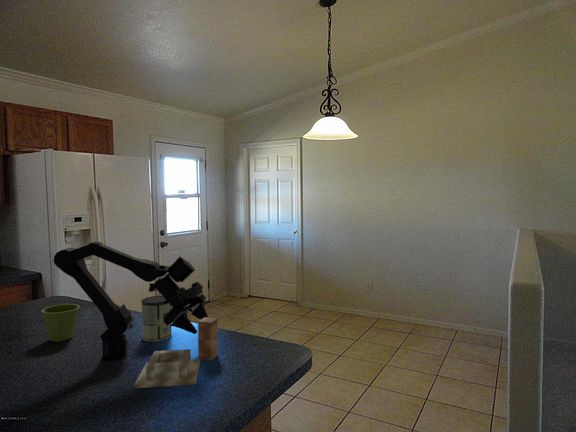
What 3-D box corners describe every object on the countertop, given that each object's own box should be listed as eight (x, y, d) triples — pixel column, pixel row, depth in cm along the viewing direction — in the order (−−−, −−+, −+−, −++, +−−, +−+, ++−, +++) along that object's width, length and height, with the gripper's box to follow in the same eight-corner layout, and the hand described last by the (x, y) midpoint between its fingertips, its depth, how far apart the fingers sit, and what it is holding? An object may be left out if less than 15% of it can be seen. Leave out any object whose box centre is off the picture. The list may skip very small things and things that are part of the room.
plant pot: (50, 347, 128) (49, 314, 128) (36, 339, 135) (35, 309, 135) (86, 337, 138) (85, 307, 137) (71, 330, 145) (70, 302, 144)
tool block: (134, 388, 100) (134, 369, 100) (146, 365, 114) (146, 349, 114) (195, 384, 102) (195, 366, 102) (200, 362, 116) (200, 346, 116)
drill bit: (136, 327, 150) (118, 314, 144) (125, 331, 151) (107, 319, 145) (139, 316, 154) (121, 303, 148) (128, 320, 156) (111, 308, 149)
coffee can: (150, 331, 144) (149, 295, 143) (176, 332, 143) (175, 295, 142) (136, 341, 134) (135, 302, 133) (164, 342, 133) (163, 303, 132)
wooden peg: (198, 359, 119) (198, 321, 118) (204, 353, 123) (204, 317, 122) (211, 360, 117) (211, 322, 117) (217, 354, 122) (217, 318, 121)
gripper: (171, 281, 112) (205, 320, 110) (200, 270, 130) (230, 303, 128) (148, 306, 114) (182, 345, 112) (180, 291, 132) (209, 325, 130)
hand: (203, 328), depth 120 cm, fingers open, 9 cm apart
